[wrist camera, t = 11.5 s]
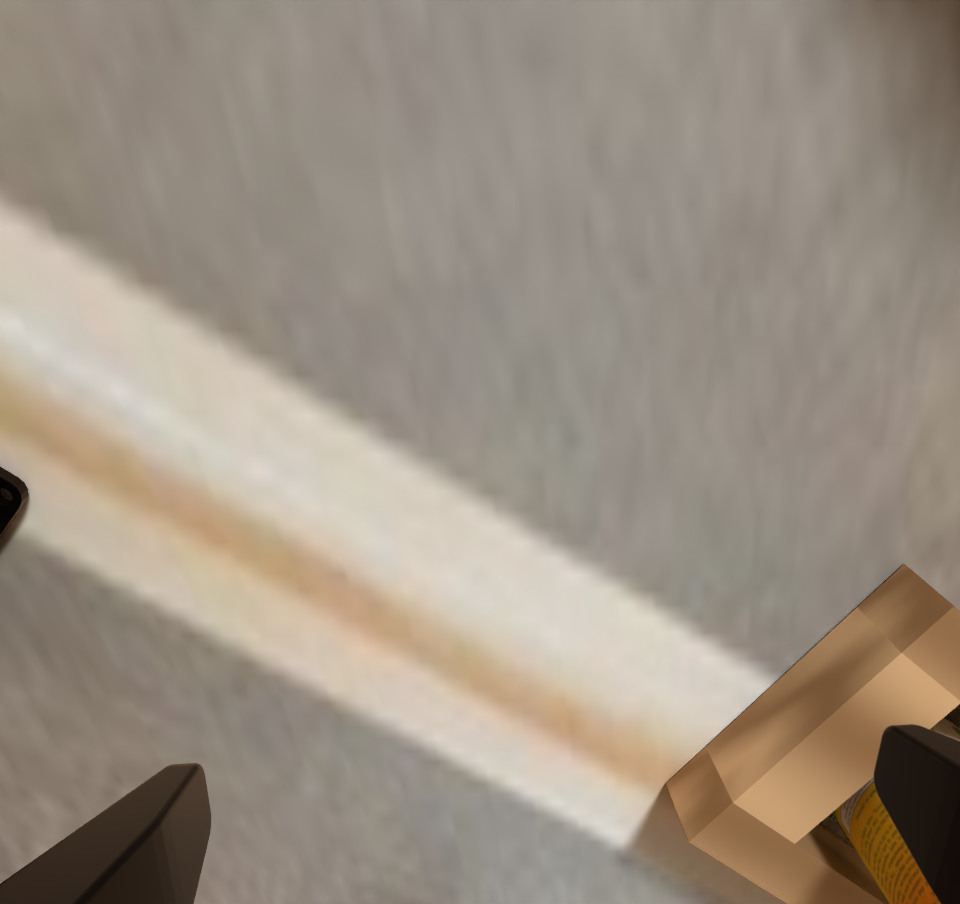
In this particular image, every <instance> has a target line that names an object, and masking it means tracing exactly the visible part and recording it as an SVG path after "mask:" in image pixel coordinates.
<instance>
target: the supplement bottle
mask: <svg viewBox="0 0 960 904" xmlns="http://www.w3.org/2000/svg"><path fill="white" fill-rule="evenodd" d="M930 730H932V731H935V732H937V733H940V734H943V735H945V736H948V737H950V738H953V739H955V740H958V741H960V728H958V727H957V726H956V725H954V724H953V723H952V722H950V721H948V720H946V719H945V718H943V719H941V720H940V721H939V722H938V723H937V724H936V725H934V726H933V727H932V728H931V729H930ZM832 813H833V815H834V816H835V818H836V820H837V821H838V823H839V825H840V826H841V828H842V829H843V831H844V833H845V834H846V836H847V837H848V839H849V840H850V842H851V844H852V845H853V847H854V848H855V850H856V851H857V853H858V854H859V856H860V858H861V859H862V861H863V862H864V864H865V866H866V867H867V869H868V870H869V872H870V873H871V875H872V876H873V878H874V880H875V881H876V883H877V885H878V886H879V888H880V890H881V891H882V893H883V894H884V896H885V897H886V899H887V901H888V902H889V904H941V903H940V902H939V900H938V899H937V897H936V896H935V894H934V893H933V891H932V889H931V888H930V886H929V884H928V883H927V881H926V879H925V878H924V876H923V874H922V873H921V871H920V869H919V867H918V866H917V864H916V862H915V860H914V859H913V857H912V855H911V853H910V851H909V850H908V848H907V846H906V844H905V843H904V841H903V839H902V837H901V835H900V834H899V832H898V830H897V828H896V827H895V825H894V823H893V821H892V820H891V818H890V816H889V814H888V812H887V811H886V809H885V807H884V805H883V804H882V802H881V800H880V798H879V796H878V794H877V792H876V789H875V785H874V777H873V778H872V779H871V780H870V781H868V782H867V783H866V784H865V785H864V786H863V787H861V788H860V789H859V790H858V791H857V792H856V793H854V794H853V795H852V796H851V797H850V798H848V799H847V800H846V801H845V802H844V803H843V804H841V805H840V806H839V807H838V808H837V809H836V810H834V811H833V812H832Z"/></svg>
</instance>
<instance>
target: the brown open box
mask: <svg viewBox="0 0 960 904" xmlns="http://www.w3.org/2000/svg"><path fill="white" fill-rule="evenodd" d="M959 704H960V611H959V610H958V609H957V608H956V607H954V606H953V605H952V604H951V603H950V602H949V601H947V600H946V599H945V598H944V597H943V596H941V595H940V594H939V593H938V592H937V591H936V590H934V589H933V588H932V587H931V586H930V585H928V584H927V583H926V582H925V581H924V580H922V579H921V578H920V577H919V576H918V575H917V574H915V573H914V572H913V571H912V570H911V569H909V568H908V567H907V566H906V565H905V564H903V565H902V566H901V567H900V568H899V569H898V570H897V571H896V572H895V573H894V574H893V575H892V576H890V577H889V578H888V579H887V580H886V581H885V582H884V583H883V584H882V585H881V586H880V587H879V588H877V589H876V590H875V591H874V592H873V593H872V594H871V595H870V596H869V597H868V598H867V599H866V600H864V601H863V602H862V603H861V604H860V605H859V606H858V607H857V608H856V609H855V610H854V611H852V612H851V613H850V614H849V615H848V616H847V617H846V618H845V619H844V620H843V621H842V622H841V623H839V624H838V625H837V626H836V627H835V628H834V629H833V630H832V631H831V632H830V633H829V634H828V635H826V636H825V637H824V638H823V639H822V640H821V641H820V642H819V643H818V644H817V645H816V646H815V647H813V648H812V649H811V650H810V651H809V652H808V653H807V654H806V655H805V656H804V657H803V658H802V659H800V660H799V661H798V662H797V663H796V664H795V665H794V666H793V667H792V668H791V669H790V670H788V671H787V672H786V673H785V674H784V675H783V676H782V677H781V678H780V679H779V680H778V681H777V682H775V683H774V684H773V685H772V686H771V687H770V688H769V689H768V690H767V691H766V692H765V693H764V694H762V695H761V696H760V697H759V698H758V699H757V700H756V701H755V702H754V703H753V704H752V705H751V706H749V707H748V708H747V709H746V710H745V711H744V712H743V713H742V714H741V715H740V716H739V717H738V718H736V719H735V720H734V721H733V722H732V723H731V724H730V725H729V726H728V727H727V728H726V729H724V730H723V731H722V732H721V733H720V734H719V735H718V736H717V737H716V738H715V739H714V740H713V741H711V742H710V743H709V744H708V745H707V746H706V747H705V748H704V749H703V750H702V751H701V752H700V753H698V754H697V755H696V756H695V757H694V758H693V759H692V760H691V761H690V762H689V763H688V764H687V765H685V766H684V767H683V768H682V769H681V770H680V771H679V772H678V773H677V774H676V775H675V776H673V777H672V778H671V779H670V780H669V781H668V782H667V783H666V786H667V788H668V791H669V793H670V796H671V798H672V801H673V803H674V806H675V809H676V811H677V814H678V816H679V819H680V821H681V824H682V826H683V829H684V831H685V834H686V836H687V839H688V841H689V842H690V843H691V844H693V845H694V846H696V847H697V848H699V849H701V850H702V851H704V852H705V853H707V854H709V855H710V856H712V857H713V858H715V859H716V860H718V861H720V862H721V863H723V864H724V865H726V866H728V867H729V868H731V869H732V870H734V871H736V872H737V873H739V874H740V875H742V876H743V877H745V878H747V879H748V880H750V881H751V882H753V883H755V884H756V885H758V886H759V887H761V888H762V889H764V890H766V891H767V892H769V893H770V894H772V895H774V896H775V897H777V898H778V899H780V900H782V901H783V902H785V903H786V904H889V902H888V901H887V899H886V897H885V896H884V894H883V893H882V891H881V890H880V888H879V886H878V885H877V883H876V881H875V880H874V878H873V876H872V875H871V873H870V872H869V870H868V869H867V867H866V866H865V864H864V862H863V861H862V859H861V858H860V856H859V854H858V853H857V851H856V850H855V849H854V848H852V847H851V846H850V845H848V844H847V843H845V842H844V841H842V840H841V839H839V838H838V837H836V836H835V835H834V834H832V833H831V832H829V831H828V830H826V829H825V828H823V827H822V826H820V825H819V823H820V822H821V821H823V820H824V819H825V818H826V817H827V816H828V815H830V814H831V813H832V812H833V811H834V810H836V809H837V808H838V807H839V806H840V805H841V804H843V803H844V802H845V801H846V800H847V799H848V798H850V797H851V796H852V795H853V794H854V793H856V792H857V791H858V790H859V789H860V788H861V787H863V786H864V785H865V784H866V783H867V782H868V781H870V780H871V779H872V778H873V777H874V769H875V764H876V760H877V755H878V751H879V746H880V742H881V738H882V734H883V731H884V730H885V729H886V728H887V727H888V726H891V725H908V724H915V725H919V726H922V727H925V728H927V729H931V728H932V727H933V726H934V725H936V724H937V723H938V722H939V721H940V720H941V719H943V718H944V717H945V716H946V715H947V714H948V713H950V712H951V711H952V710H953V709H954V708H956V707H957V706H958V705H959Z"/></svg>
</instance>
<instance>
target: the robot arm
mask: <svg viewBox="0 0 960 904" xmlns="http://www.w3.org/2000/svg"><path fill="white" fill-rule="evenodd" d="M0 488H3V489H6V490H8V491H9V492H10V493H11V495H12V499H7V498H5V497H4V496H2V495H1V492H0V538H1V537H2V535H3V534H4V532H5V531H6V530H7V528H8V527H9V525H10V524H11V522H12V521H13V520H14V518H15V517H16V515H17V514H18V512H19V511H20V510H21V508H22V507H23V505H24V504H25V502H26V501H27V498H28V496H29V495H28V488H27V486H26V485H25V483H24V482H23V481H22V480H21V479H19V478H18V477H16V476H15V475H13V474H11V473H10V472H8V471H6V470H5V469H3V468H2V467H0ZM874 785H875V789H876V792H877V794H878V796H879V798H880V800H881V802H882V804H883V805H884V807H885V809H886V811H887V812H888V814H889V816H890V818H891V820H892V821H893V823H894V825H895V827H896V828H897V830H898V832H899V834H900V835H901V837H902V839H903V841H904V843H905V844H906V846H907V848H908V850H909V851H910V853H911V855H912V857H913V859H914V860H915V862H916V864H917V866H918V867H919V869H920V871H921V873H922V874H923V876H924V878H925V879H926V881H927V883H928V884H929V886H930V888H931V889H932V891H933V893H934V894H935V896H936V897H937V899H938V900H939V902H940V903H941V904H960V741H958V740H955V739H953V738H950V737H948V736H945V735H943V734H940V733H937V732H935V731H932V730H930V729H927V728H925V727H922V726H919V725H915V724H908V725H891V726H888V727H887V728H886V729H885V730H884V731H883V734H882V738H881V742H880V746H879V751H878V755H877V760H876V764H875V769H874ZM210 829H211V810H210V804H209V798H208V791H207V785H206V779H205V773H204V770H203V768H202V766H201V765H200V764H198V763H190V764H173V765H169V766H167V767H166V768H164V769H163V770H161V771H160V772H158V773H157V774H156V775H154V776H153V777H151V778H150V779H148V780H147V781H146V782H144V783H143V784H141V785H140V786H138V787H137V788H136V789H134V790H133V791H131V792H130V793H129V794H127V795H126V796H124V797H123V798H121V799H120V800H119V801H117V802H116V803H114V804H113V805H111V806H110V807H109V808H107V809H106V810H104V811H103V812H102V813H100V814H99V815H97V816H96V817H94V818H93V819H92V820H90V821H89V822H87V823H86V824H84V825H83V826H82V827H80V828H79V829H77V830H76V831H75V832H73V833H72V834H70V835H69V836H67V837H66V838H65V839H63V840H62V841H60V842H59V843H58V844H56V845H55V846H53V847H52V848H50V849H49V850H48V851H46V852H45V853H43V854H42V855H40V856H39V857H38V858H36V859H35V860H33V861H32V862H31V863H29V864H28V865H26V866H25V867H23V868H22V869H21V870H19V871H18V872H16V873H15V874H13V875H12V876H11V877H9V878H8V879H6V880H5V881H4V882H2V883H1V884H0V904H193V903H194V899H195V895H196V891H197V887H198V882H199V878H200V874H201V870H202V865H203V861H204V857H205V853H206V849H207V844H208V840H209V836H210Z"/></svg>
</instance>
